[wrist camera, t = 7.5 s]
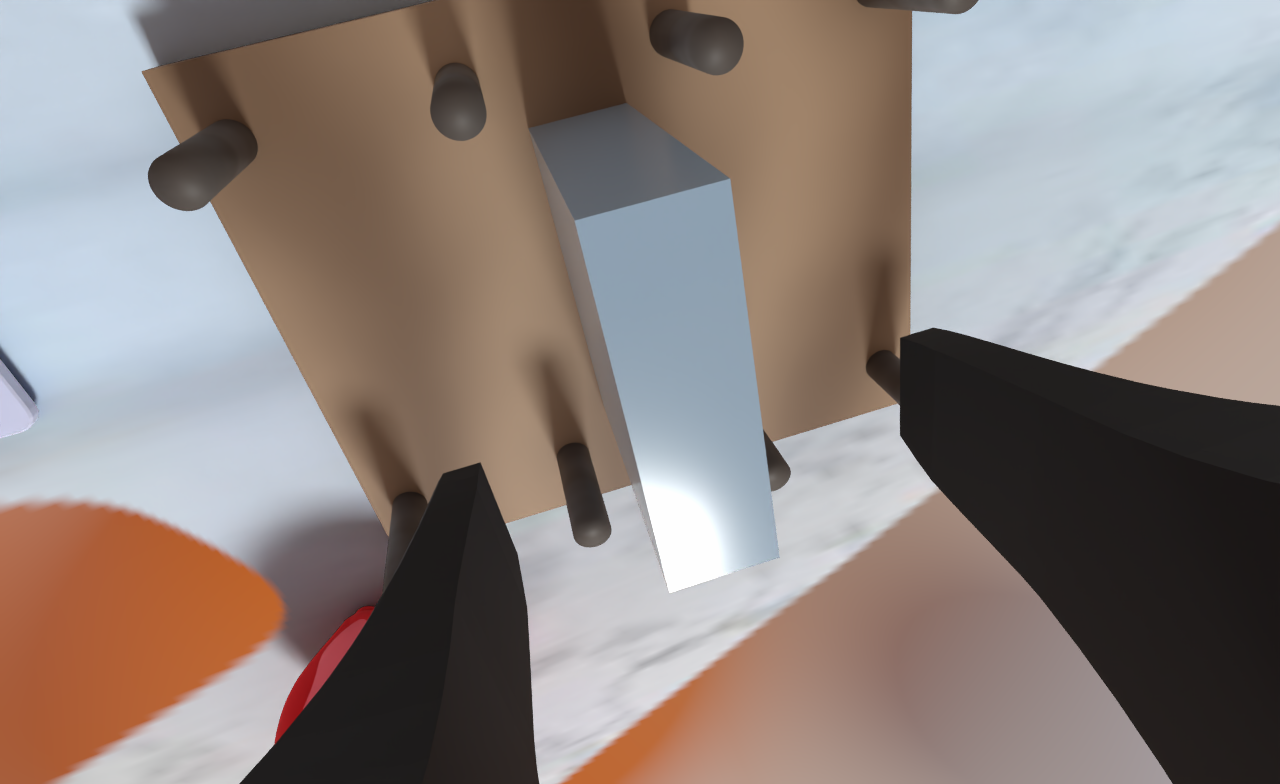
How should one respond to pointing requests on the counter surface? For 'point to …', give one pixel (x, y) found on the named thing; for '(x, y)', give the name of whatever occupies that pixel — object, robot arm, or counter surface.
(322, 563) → the counter surface
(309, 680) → the red toy figurine
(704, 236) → the tile
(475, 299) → the rack
